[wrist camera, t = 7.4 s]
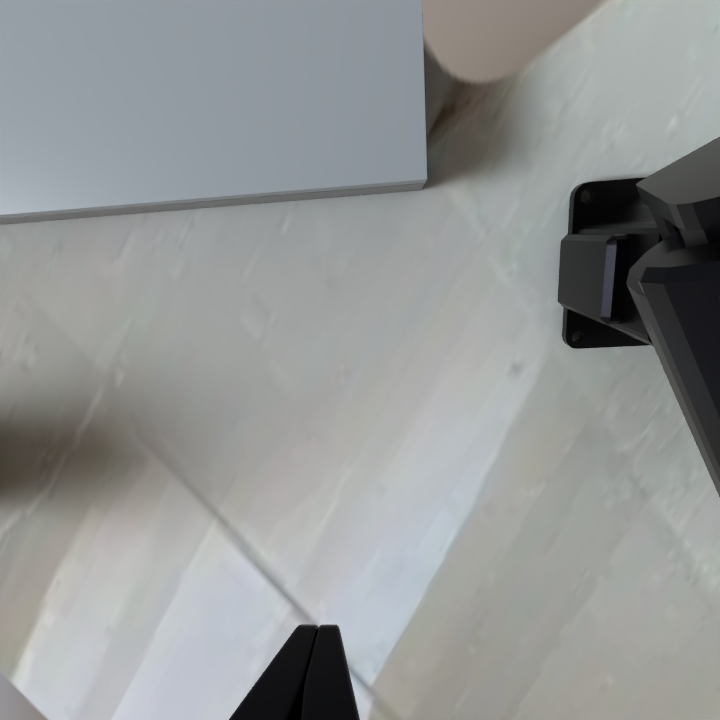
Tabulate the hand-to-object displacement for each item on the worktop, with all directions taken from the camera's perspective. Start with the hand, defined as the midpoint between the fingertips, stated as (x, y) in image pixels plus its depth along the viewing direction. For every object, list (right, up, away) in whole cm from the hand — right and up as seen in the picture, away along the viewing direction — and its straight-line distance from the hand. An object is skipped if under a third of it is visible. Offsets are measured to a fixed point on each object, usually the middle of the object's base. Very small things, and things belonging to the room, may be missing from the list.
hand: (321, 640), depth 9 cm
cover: (-7, +15, +6) cm, 18 cm away
